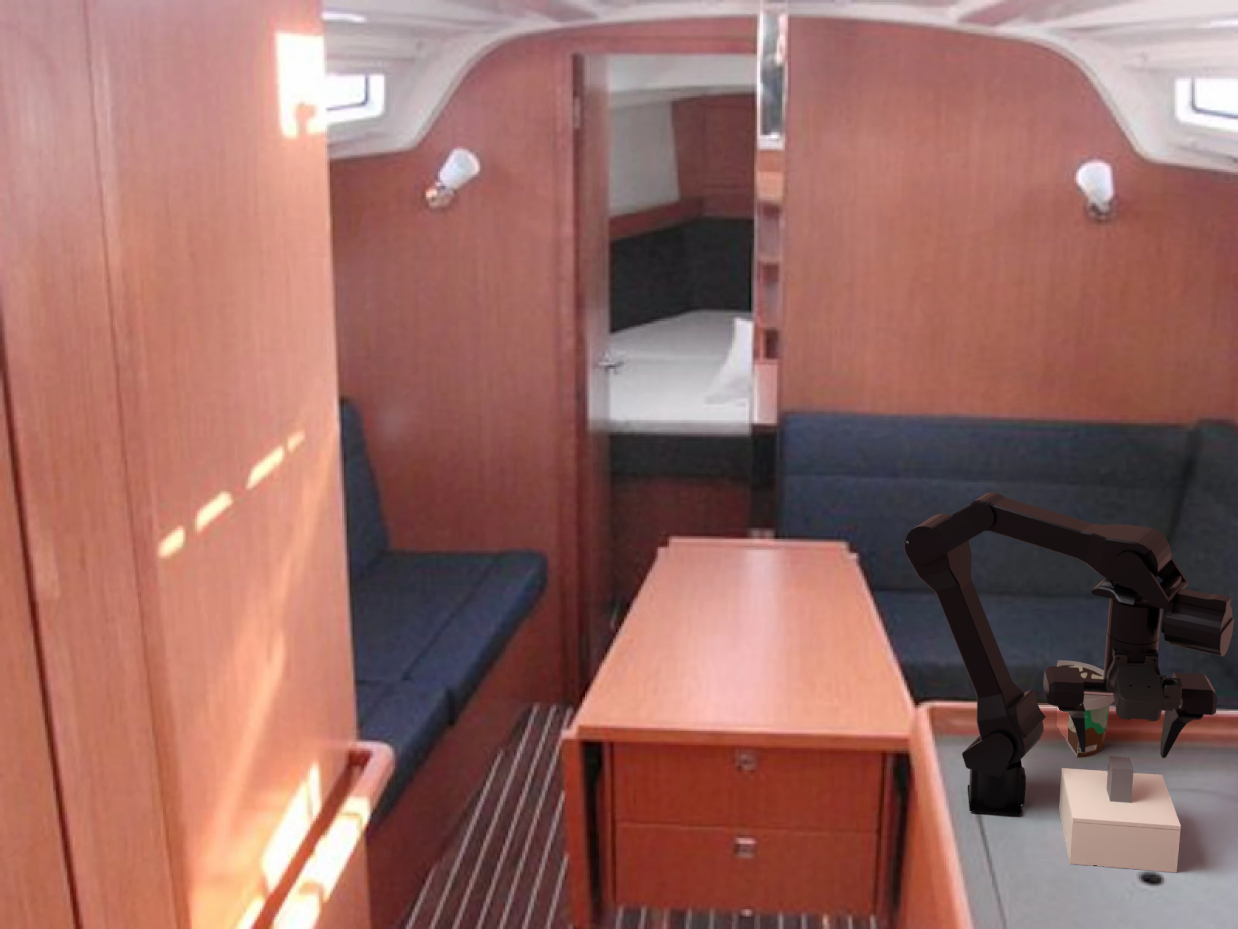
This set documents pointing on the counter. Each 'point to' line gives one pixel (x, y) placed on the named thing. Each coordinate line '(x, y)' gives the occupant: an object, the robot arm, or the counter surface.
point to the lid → (1119, 796)
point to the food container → (1090, 713)
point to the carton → (1118, 843)
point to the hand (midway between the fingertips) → (1122, 754)
